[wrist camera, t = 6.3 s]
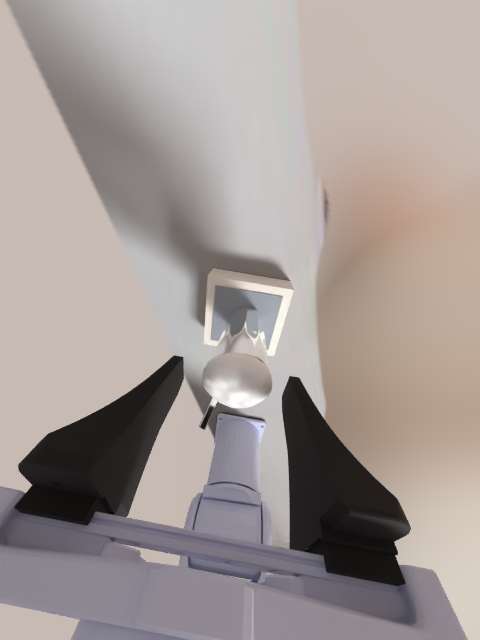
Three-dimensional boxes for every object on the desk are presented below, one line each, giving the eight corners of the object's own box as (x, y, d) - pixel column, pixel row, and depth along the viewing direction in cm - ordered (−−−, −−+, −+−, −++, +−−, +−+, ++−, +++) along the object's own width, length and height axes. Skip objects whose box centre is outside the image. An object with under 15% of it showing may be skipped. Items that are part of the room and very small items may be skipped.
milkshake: (210, 325, 20) (171, 410, 12) (244, 290, 18) (228, 366, 9) (242, 349, 21) (228, 444, 13) (278, 320, 19) (290, 412, 11)
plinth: (272, 342, 24) (273, 356, 22) (209, 331, 24) (203, 344, 22) (290, 281, 20) (293, 290, 17) (213, 268, 20) (207, 275, 18)
